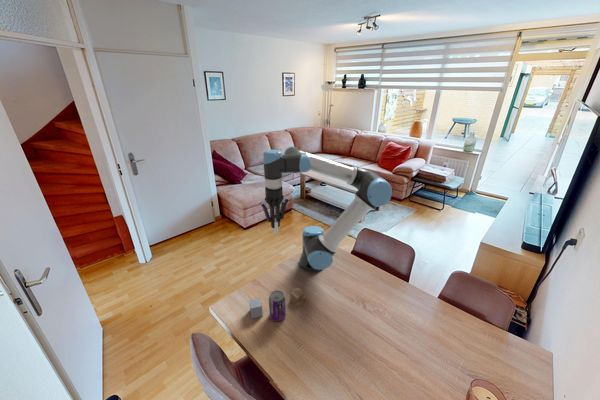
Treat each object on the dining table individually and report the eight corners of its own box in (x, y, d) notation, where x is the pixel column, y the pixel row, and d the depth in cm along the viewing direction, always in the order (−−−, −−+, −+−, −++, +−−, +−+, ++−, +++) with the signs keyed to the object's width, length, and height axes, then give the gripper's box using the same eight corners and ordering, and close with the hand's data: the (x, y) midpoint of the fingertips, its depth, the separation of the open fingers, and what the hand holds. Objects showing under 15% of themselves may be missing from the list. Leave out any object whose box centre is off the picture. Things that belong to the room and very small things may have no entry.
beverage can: (285, 322, 110) (284, 302, 106) (268, 322, 111) (267, 301, 106) (286, 309, 117) (285, 289, 112) (270, 309, 117) (269, 289, 112)
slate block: (261, 307, 118) (260, 297, 116) (262, 315, 114) (262, 306, 111) (250, 310, 117) (249, 300, 114) (251, 318, 113) (250, 308, 110)
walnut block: (298, 295, 125) (298, 287, 123) (305, 300, 122) (305, 292, 120) (290, 300, 122) (290, 292, 120) (297, 306, 119) (297, 298, 117)
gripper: (284, 181, 116) (285, 226, 126) (256, 185, 111) (260, 232, 120) (291, 186, 110) (291, 233, 120) (262, 191, 105) (265, 240, 114)
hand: (275, 233), depth 120 cm, fingers closed
